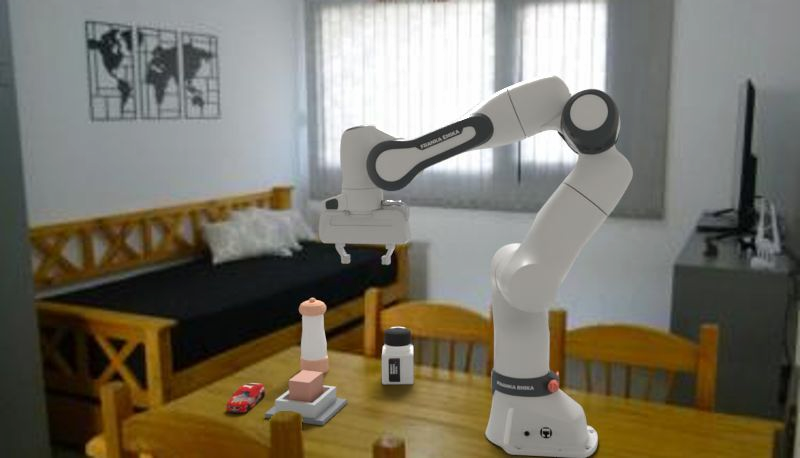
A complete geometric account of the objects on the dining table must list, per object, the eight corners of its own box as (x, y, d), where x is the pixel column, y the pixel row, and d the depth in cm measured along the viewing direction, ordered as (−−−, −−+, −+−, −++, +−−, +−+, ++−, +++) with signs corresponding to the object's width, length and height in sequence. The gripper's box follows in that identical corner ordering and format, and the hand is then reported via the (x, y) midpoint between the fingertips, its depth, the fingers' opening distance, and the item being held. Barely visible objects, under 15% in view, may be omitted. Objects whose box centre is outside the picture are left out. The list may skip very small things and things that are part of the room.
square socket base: (346, 403, 175) (346, 386, 174) (323, 425, 163) (322, 407, 162) (292, 396, 180) (291, 380, 179) (265, 417, 167) (264, 400, 167)
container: (413, 384, 186) (413, 333, 184) (382, 384, 187) (381, 333, 185) (413, 373, 194) (413, 324, 192) (383, 374, 194) (382, 324, 192)
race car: (245, 417, 169) (244, 399, 168) (222, 414, 170) (221, 397, 170) (269, 395, 182) (268, 378, 181) (248, 393, 183) (247, 377, 182)
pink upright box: (323, 401, 174) (322, 372, 172) (310, 413, 167) (309, 382, 166) (303, 399, 175) (302, 370, 174) (289, 410, 169) (288, 380, 168)
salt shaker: (303, 365, 202) (301, 294, 199) (331, 365, 201) (329, 294, 198) (297, 374, 195) (294, 301, 192) (325, 375, 194) (323, 301, 191)
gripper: (413, 198, 163) (415, 261, 166) (326, 198, 170) (329, 259, 172) (404, 202, 158) (406, 267, 160) (314, 202, 164) (317, 265, 166)
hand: (366, 263), depth 166 cm, fingers open, 8 cm apart
